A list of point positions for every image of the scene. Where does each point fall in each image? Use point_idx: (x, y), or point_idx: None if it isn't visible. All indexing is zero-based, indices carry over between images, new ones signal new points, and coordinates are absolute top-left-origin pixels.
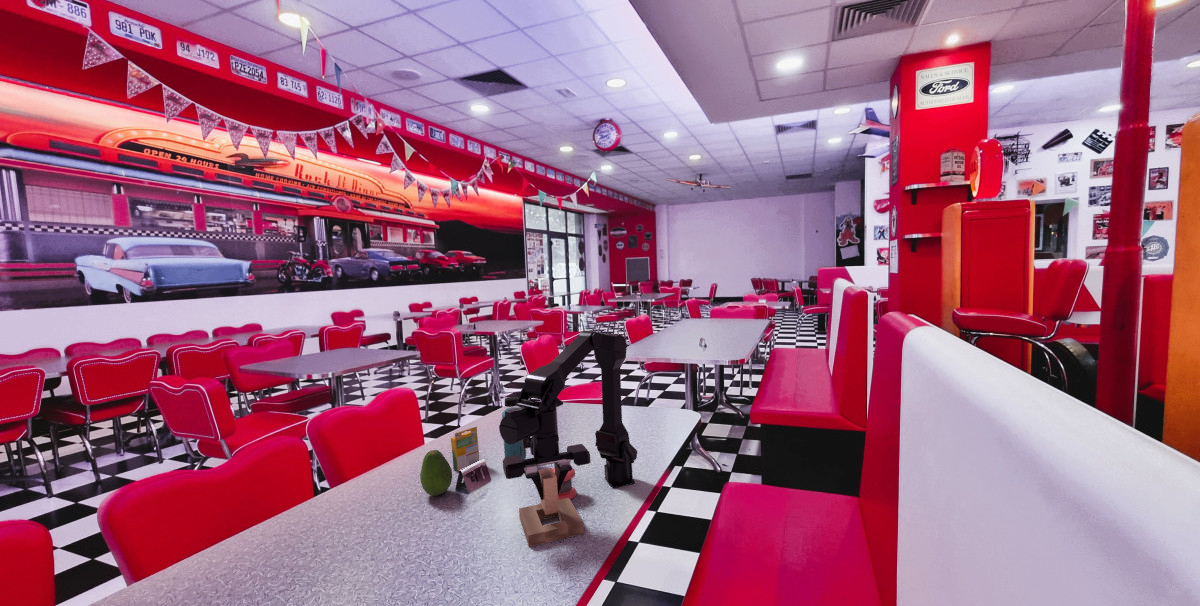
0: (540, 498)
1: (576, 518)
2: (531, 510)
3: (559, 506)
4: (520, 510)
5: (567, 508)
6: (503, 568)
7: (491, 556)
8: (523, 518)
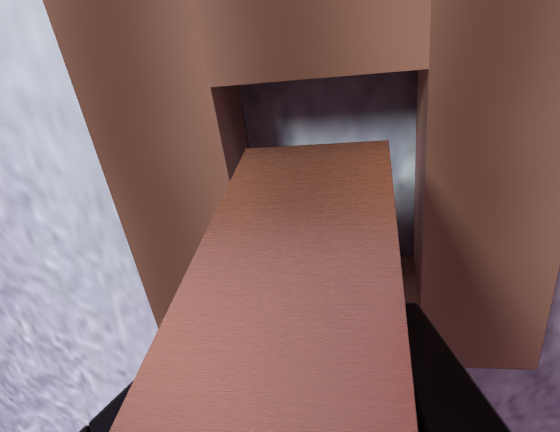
0: (231, 179)
1: (515, 312)
2: (168, 76)
3: (447, 90)
4: (64, 37)
5: (509, 154)
6: (96, 387)
7: (21, 310)
8: (114, 181)
